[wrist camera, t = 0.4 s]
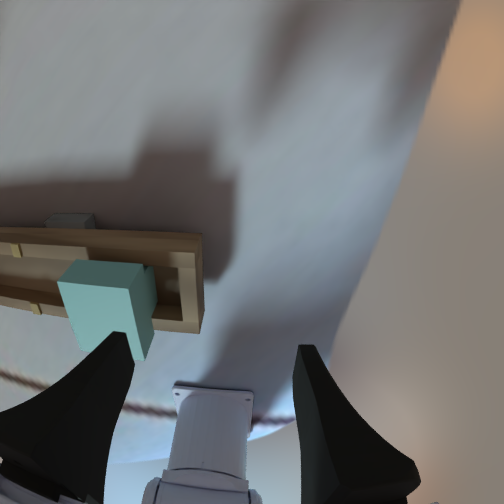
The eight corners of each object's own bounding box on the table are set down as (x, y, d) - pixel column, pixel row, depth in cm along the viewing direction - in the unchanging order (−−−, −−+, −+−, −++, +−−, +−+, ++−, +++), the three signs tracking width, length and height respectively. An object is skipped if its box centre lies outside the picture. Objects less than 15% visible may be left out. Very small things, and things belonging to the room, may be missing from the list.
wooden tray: (207, 303, 24) (199, 341, 20) (8, 281, 24) (-15, 307, 20) (205, 216, 21) (193, 246, 17) (-11, 214, 21) (-41, 235, 17)
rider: (162, 312, 21) (144, 360, 17) (105, 306, 21) (81, 350, 17) (153, 245, 19) (128, 288, 15) (91, 242, 19) (56, 281, 15)
